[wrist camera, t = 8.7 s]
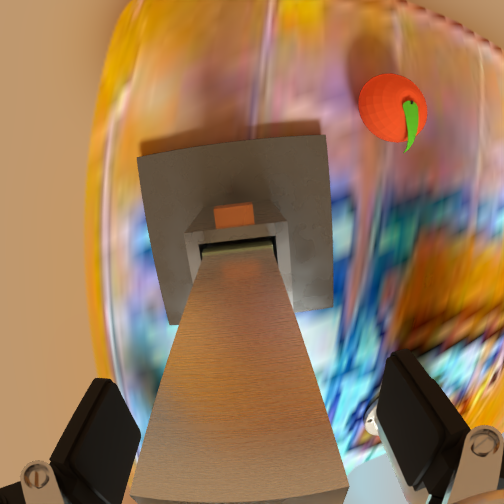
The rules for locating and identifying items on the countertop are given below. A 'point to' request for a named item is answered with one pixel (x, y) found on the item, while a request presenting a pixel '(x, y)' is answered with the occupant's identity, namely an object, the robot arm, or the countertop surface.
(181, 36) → the countertop surface
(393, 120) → the clementine
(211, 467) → the column
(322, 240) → the stand
